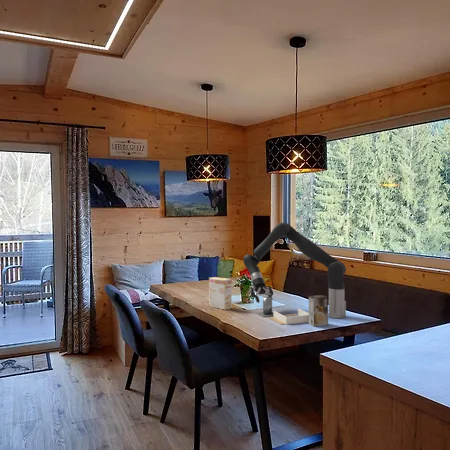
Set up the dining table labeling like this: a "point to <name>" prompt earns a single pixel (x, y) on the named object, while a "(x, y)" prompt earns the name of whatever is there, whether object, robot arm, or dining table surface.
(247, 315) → the dining table surface
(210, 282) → the coffeecake box
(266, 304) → the tin can
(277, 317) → the white rectangular tray
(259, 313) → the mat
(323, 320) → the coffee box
